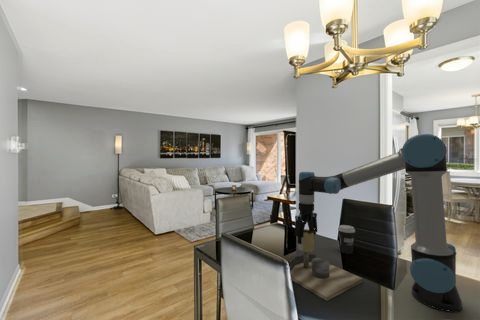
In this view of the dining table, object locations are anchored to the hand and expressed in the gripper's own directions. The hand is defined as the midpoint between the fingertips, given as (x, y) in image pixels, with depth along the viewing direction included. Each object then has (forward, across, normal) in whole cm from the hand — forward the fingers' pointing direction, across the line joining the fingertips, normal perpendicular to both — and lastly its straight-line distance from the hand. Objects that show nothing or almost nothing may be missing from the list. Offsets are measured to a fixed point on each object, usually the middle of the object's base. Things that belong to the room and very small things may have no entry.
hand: (306, 248), depth 115 cm
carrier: (+11, 0, +9) cm, 14 cm away
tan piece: (+1, 0, 0) cm, 1 cm away
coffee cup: (+11, -38, -2) cm, 40 cm away
